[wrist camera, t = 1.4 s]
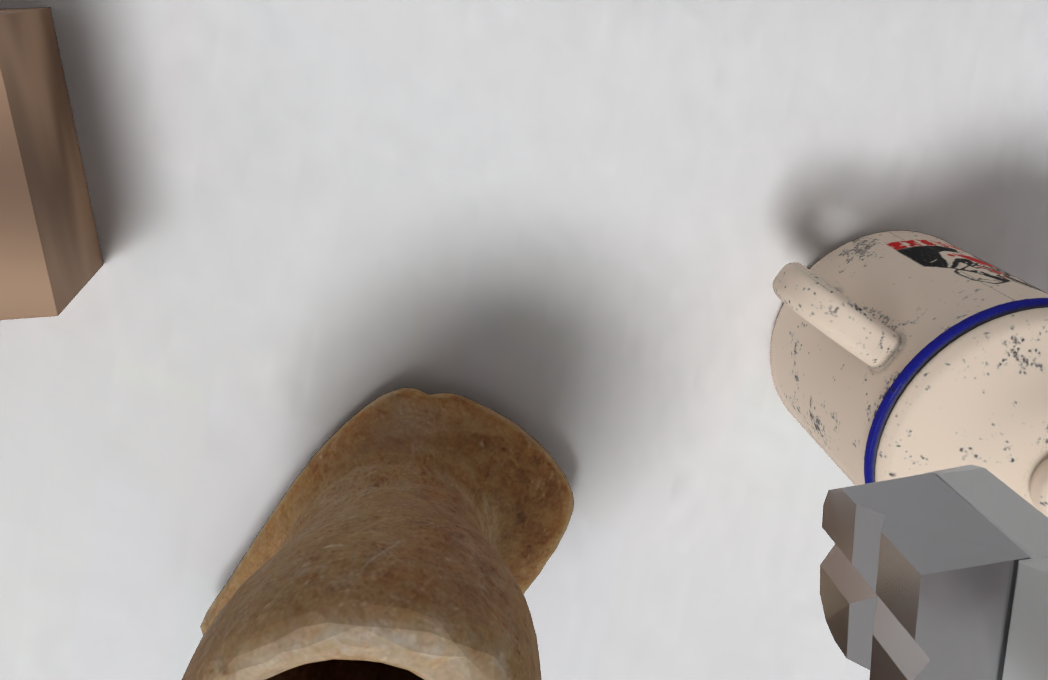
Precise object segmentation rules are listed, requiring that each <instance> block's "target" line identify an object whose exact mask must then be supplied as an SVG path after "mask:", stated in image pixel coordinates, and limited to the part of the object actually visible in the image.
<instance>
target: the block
mask: <svg viewBox="0 0 1048 680" xmlns="http://www.w3.org/2000/svg"><path fill="white" fill-rule="evenodd" d="M102 266H103V260H102V255H101V251H100V246H99V241H98V236H97V231H96V226H95V222H94V217H93V212H92V207H91V202H90V197H89V193H88V188H87V183H86V178H85V173H84V168H83V164H82V159H81V154H80V149H79V144H78V139H77V135H76V130H75V125H74V120H73V115H72V110H71V106H70V101H69V96H68V91H67V86H66V81H65V76H64V72H63V67H62V62H61V57H60V52H59V47H58V43H57V38H56V33H55V28H54V23H53V18H52V14H51V9H50V7H48V8H17V9H0V320H7V319H21V318H35V317H50V316H58V315H59V314H60V313H61V312H62V311H63V309H64V308H65V307H66V306H67V305H68V304H69V303H70V302H71V300H72V299H73V298H74V297H75V296H76V295H77V294H78V293H79V291H80V290H81V289H82V288H83V287H84V286H85V285H86V284H87V282H88V281H89V280H90V279H91V278H92V277H93V276H94V275H95V273H96V272H97V271H98V270H99V269H100V268H101V267H102Z"/></svg>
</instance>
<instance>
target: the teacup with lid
mask: <svg viewBox="0 0 1048 680" xmlns="http://www.w3.org/2000/svg"><path fill="white" fill-rule="evenodd" d="M773 290H774V292H775V294H776V295H777V296H778V297H779V298H780V299H781V300H782V301H783V302H784V304H783V306H782V308H781V310H780V312H779V315H778V318H777V320H776V323H775V327H774V330H773V335H772V340H771V350H770V365H771V372H772V377H773V381H774V385H775V387H776V390H777V393H778V395H779V396H780V398H781V400H782V402H783V404H784V405H785V407H786V408H787V410H788V411H789V412H790V413H791V414H792V416H793V417H794V418H795V419H796V420H797V421H798V422H799V423H800V425H801V426H802V427H803V428H804V429H805V430H806V431H807V432H808V433H809V435H810V436H811V437H812V438H813V439H814V440H815V441H816V442H817V443H818V445H819V446H820V447H821V448H822V449H823V450H824V451H825V452H826V454H827V455H828V456H829V457H830V458H831V459H832V460H833V461H834V462H835V464H836V465H837V466H838V467H839V468H840V469H841V470H842V471H843V473H844V474H845V475H846V476H847V477H848V478H849V479H850V480H851V481H852V483H853V484H854V485H855V486H856V485H862V484H868V483H873V482H879V481H885V480H891V479H897V478H903V477H908V476H914V475H920V474H924V473H928V472H933V471H938V470H944V469H949V468H955V467H960V466H965V465H975V466H979V467H983V468H986V469H987V470H988V471H989V472H991V473H992V474H993V475H994V476H996V477H997V478H998V479H1000V480H1001V481H1002V482H1003V483H1005V484H1006V485H1007V486H1008V487H1010V488H1011V489H1012V490H1013V491H1015V492H1016V493H1017V494H1018V495H1020V496H1021V497H1022V498H1023V499H1025V500H1026V501H1027V502H1029V503H1030V504H1031V505H1032V506H1034V507H1035V508H1036V509H1037V510H1039V511H1040V512H1041V513H1042V514H1044V515H1045V516H1046V517H1047V518H1048V293H1046V292H1044V291H1042V290H1040V289H1038V288H1036V287H1034V286H1032V285H1030V284H1028V283H1026V282H1024V281H1022V280H1020V279H1018V278H1016V277H1014V276H1012V275H1010V274H1008V273H1006V272H1004V271H1002V270H1000V269H998V268H996V267H994V266H992V265H990V264H988V263H986V262H985V261H983V260H981V259H979V258H977V257H975V256H973V255H971V254H969V253H967V252H965V251H963V250H961V249H959V248H957V247H955V246H953V245H951V244H949V243H947V242H945V241H943V240H941V239H939V238H936V237H934V236H931V235H927V234H923V233H919V232H912V231H886V232H880V233H875V234H871V235H867V236H864V237H861V238H858V239H855V240H853V241H850V242H848V243H846V244H844V245H842V246H840V247H839V248H837V249H835V250H833V251H832V252H830V253H829V254H827V255H826V256H825V257H823V258H822V259H821V260H819V261H818V262H817V263H816V264H815V265H813V266H812V267H811V268H810V269H808V268H806V267H805V266H803V265H802V264H800V263H795V262H793V263H789V264H787V265H785V266H784V267H783V268H782V270H781V271H780V272H779V274H778V275H777V276H776V277H775V279H774V281H773Z"/></svg>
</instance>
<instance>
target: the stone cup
mask: <svg viewBox="0 0 1048 680" xmlns="http://www.w3.org/2000/svg"><path fill="white" fill-rule="evenodd" d="M573 508H574V500H573V493H572V491H571V489H570V487H569V484H568V482H567V480H566V476H565V474H564V473H563V472H562V470H561V469H560V468H559V466H558V465H557V463H556V462H555V461H554V460H553V458H552V457H551V456H550V455H549V454H548V452H547V451H546V450H545V449H544V448H543V447H542V446H541V445H540V444H539V443H538V442H537V441H536V440H535V439H534V438H533V437H532V436H530V435H529V434H528V433H527V432H526V431H525V430H524V429H522V428H521V427H520V426H518V425H517V424H515V423H514V422H512V421H511V420H509V419H507V418H506V417H504V416H502V415H500V414H498V413H497V412H495V411H493V410H491V409H489V408H487V407H485V406H483V405H481V404H479V403H477V402H475V401H473V400H471V399H468V398H466V397H464V396H460V395H456V394H452V393H438V394H430V395H427V394H425V393H424V392H422V391H420V390H417V389H413V388H401V389H398V390H395V391H392V392H389V393H386V394H384V395H382V396H380V397H378V398H377V399H375V400H374V401H373V402H371V403H370V404H368V405H367V406H365V407H364V408H363V409H362V410H361V411H359V412H358V413H357V414H356V415H355V416H353V417H352V418H351V419H350V420H349V421H348V422H346V423H345V424H344V425H343V426H342V427H341V428H340V429H339V430H338V431H337V432H336V433H335V434H334V435H333V436H332V437H331V438H330V439H329V440H328V441H327V442H326V443H325V444H324V445H323V446H322V447H321V448H320V450H319V451H318V452H317V453H316V454H315V455H314V456H313V457H312V459H311V460H310V461H309V463H308V464H307V465H306V467H305V468H304V469H303V470H302V472H301V473H300V474H299V476H298V477H297V478H296V479H295V481H294V482H293V484H292V485H291V486H290V488H289V489H288V491H287V492H286V494H285V495H284V496H283V498H282V499H281V501H280V502H279V504H278V505H277V507H276V508H275V510H274V511H273V513H272V514H271V516H270V517H269V519H268V520H267V522H266V523H265V525H264V526H263V528H262V529H261V531H260V532H259V534H258V535H257V537H256V538H255V540H254V541H253V543H252V545H251V546H250V548H249V549H248V551H247V553H246V554H245V556H244V557H243V559H242V560H241V562H240V564H239V565H238V567H237V568H236V570H235V571H234V573H233V574H232V576H231V578H230V579H229V581H228V582H227V584H226V585H225V587H224V588H223V589H222V591H221V592H220V593H219V595H218V596H217V597H216V599H215V600H214V602H213V603H212V605H211V607H210V608H209V610H208V611H207V613H206V615H205V618H204V620H203V622H202V624H201V630H202V633H203V637H202V639H201V641H200V643H199V645H198V647H197V649H196V651H195V653H194V655H193V657H192V659H191V661H190V663H189V665H188V667H187V669H186V672H185V674H184V676H183V678H182V680H541V671H540V661H539V652H538V645H537V637H536V633H535V630H534V626H533V622H532V618H531V614H530V611H529V608H528V605H527V602H526V599H525V597H524V595H523V594H524V593H525V591H526V590H527V589H528V587H529V586H530V585H531V584H532V582H533V581H534V580H535V579H536V577H537V576H538V575H539V573H540V572H541V570H542V569H543V567H544V565H545V564H546V562H547V561H548V559H549V558H550V556H551V555H552V554H553V552H554V551H555V550H556V548H557V546H558V544H559V542H560V540H561V538H562V536H563V534H564V532H565V531H566V528H567V526H568V523H569V521H570V518H571V515H572V512H573Z"/></svg>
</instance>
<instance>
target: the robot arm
mask: <svg viewBox="0 0 1048 680" xmlns="http://www.w3.org/2000/svg"><path fill="white" fill-rule="evenodd" d="M822 527H823V529H824V530H825V531H826V532H827V534H828V535H829V536H830V537H831V539H832V540H833V541H834V542H835V545H834V547H833V548H832V549H831V551H830V552H829V554H828V555H827V556H826V558H825V559H824V560H823V562H822V563H821V565H820V595H821V600H822V605H823V609H824V614H825V618H826V622H827V624H828V626H829V629H830V631H831V633H832V635H833V638H834V640H835V641H836V643H837V644H838V646H839V647H840V649H841V650H842V652H843V653H844V655H845V656H846V658H847V659H849V660H851V661H853V662H855V663H857V664H859V665H861V666H863V667H865V668H867V669H869V670H870V680H1048V518H1047V517H1046V516H1045V515H1044V514H1042V513H1041V512H1040V511H1039V510H1037V509H1036V508H1035V507H1034V506H1032V505H1031V504H1030V503H1029V502H1027V501H1026V500H1025V499H1023V498H1022V497H1021V496H1020V495H1018V494H1017V493H1016V492H1015V491H1013V490H1012V489H1011V488H1010V487H1008V486H1007V485H1006V484H1005V483H1003V482H1002V481H1001V480H1000V479H998V478H997V477H996V476H994V475H993V474H992V473H991V472H989V471H988V470H987V469H986V468H983V467H979V466H975V465H965V466H960V467H955V468H949V469H944V470H938V471H933V472H928V473H924V474H920V475H914V476H908V477H903V478H897V479H891V480H885V481H879V482H873V483H868V484H862V485H856V486H850V487H844V488H838V489H832V490H829V491H828V494H827V496H826V499H825V502H824V505H823V521H822Z"/></svg>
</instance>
